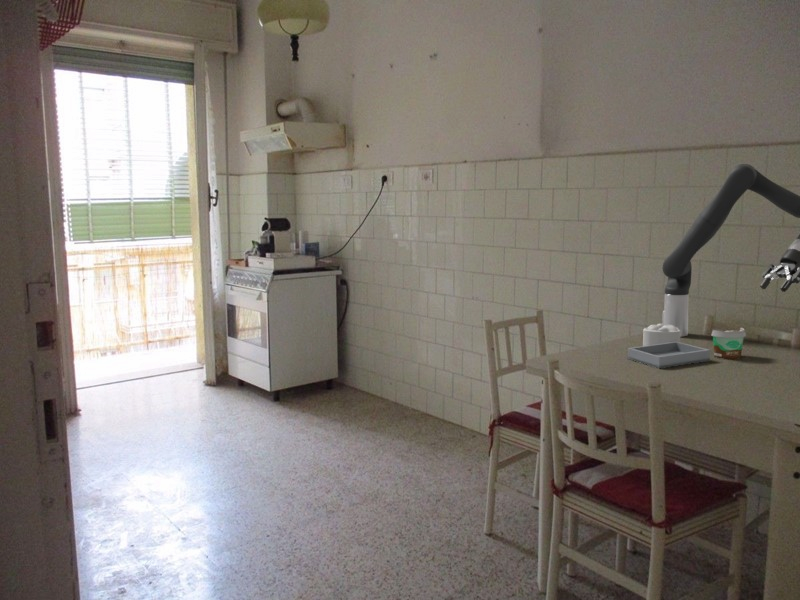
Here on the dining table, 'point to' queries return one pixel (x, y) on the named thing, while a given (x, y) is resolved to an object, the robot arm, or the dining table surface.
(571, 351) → the dining table surface
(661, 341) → the lumpy-topped squat cylinder
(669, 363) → the grey tray
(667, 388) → the dining table surface
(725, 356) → the food container
